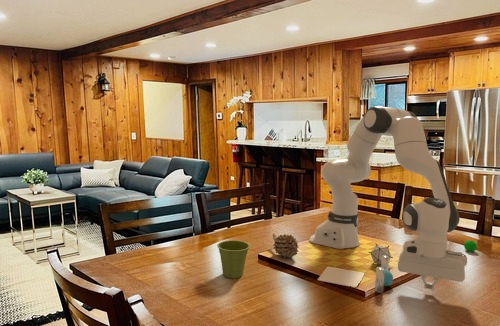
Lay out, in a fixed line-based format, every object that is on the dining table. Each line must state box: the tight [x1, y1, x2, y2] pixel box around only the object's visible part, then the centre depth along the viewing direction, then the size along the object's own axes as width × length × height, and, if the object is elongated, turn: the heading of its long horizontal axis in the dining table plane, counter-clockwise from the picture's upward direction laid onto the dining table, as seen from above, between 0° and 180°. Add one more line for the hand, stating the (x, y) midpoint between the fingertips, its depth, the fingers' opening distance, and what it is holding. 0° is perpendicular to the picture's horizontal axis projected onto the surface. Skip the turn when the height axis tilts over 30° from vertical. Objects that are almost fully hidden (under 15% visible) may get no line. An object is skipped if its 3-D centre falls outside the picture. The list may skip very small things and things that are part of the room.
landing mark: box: [317, 266, 365, 288], centre depth 145 cm, size 14×14×1 cm
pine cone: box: [272, 233, 300, 259], centre depth 167 cm, size 22×10×10 cm, turn 22°
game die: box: [368, 243, 394, 265], centre depth 157 cm, size 9×8×10 cm
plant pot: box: [216, 239, 251, 279], centre depth 145 cm, size 12×12×11 cm
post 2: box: [380, 255, 390, 271], centre depth 144 cm, size 3×3×8 cm
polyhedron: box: [463, 239, 478, 253], centre depth 174 cm, size 5×5×5 cm
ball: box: [384, 269, 394, 287], centre depth 138 cm, size 6×6×6 cm
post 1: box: [374, 266, 385, 294], centre depth 133 cm, size 3×3×8 cm
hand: (429, 288), depth 132 cm, fingers closed
